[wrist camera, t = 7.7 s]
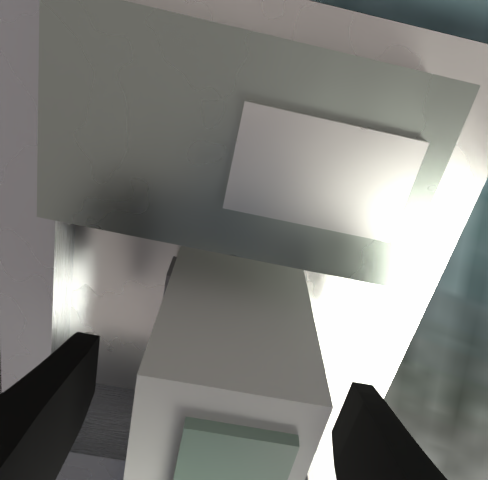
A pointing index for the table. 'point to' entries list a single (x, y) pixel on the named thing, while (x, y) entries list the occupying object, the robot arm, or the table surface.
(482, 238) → the table surface
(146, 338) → the board
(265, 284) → the block
